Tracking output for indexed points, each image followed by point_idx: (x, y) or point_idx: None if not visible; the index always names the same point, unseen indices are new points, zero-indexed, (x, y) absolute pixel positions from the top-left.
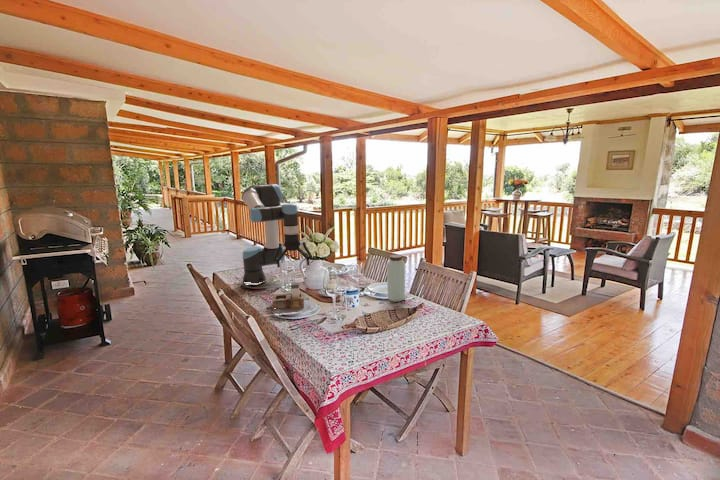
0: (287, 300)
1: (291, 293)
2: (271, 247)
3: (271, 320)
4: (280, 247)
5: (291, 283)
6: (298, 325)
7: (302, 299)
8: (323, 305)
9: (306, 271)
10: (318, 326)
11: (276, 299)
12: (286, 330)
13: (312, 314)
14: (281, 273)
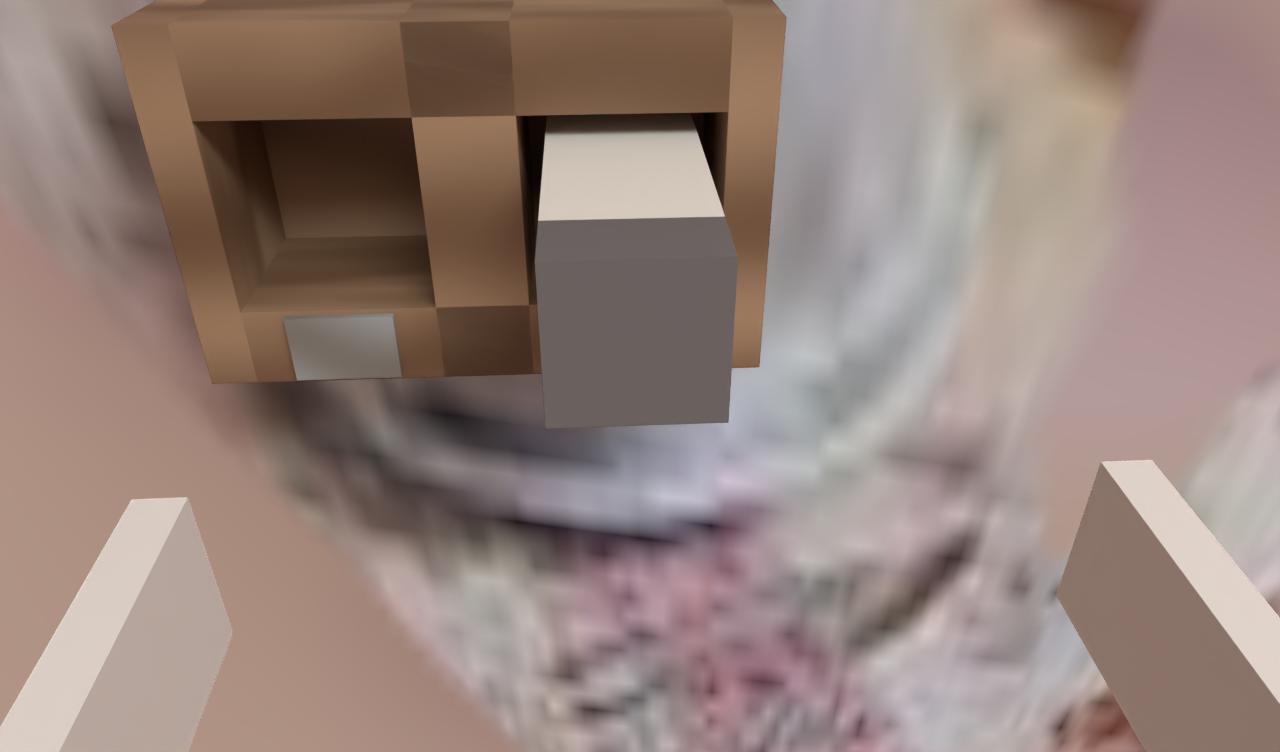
0: (479, 369)
1: (518, 43)
2: None
3: (318, 521)
4: None
5: (542, 308)
6: (651, 656)
7: (741, 361)
8: (1043, 191)
9: (1075, 606)
10: (848, 693)
11: (261, 318)
12: (535, 721)
13: (829, 450)
14: (227, 639)
